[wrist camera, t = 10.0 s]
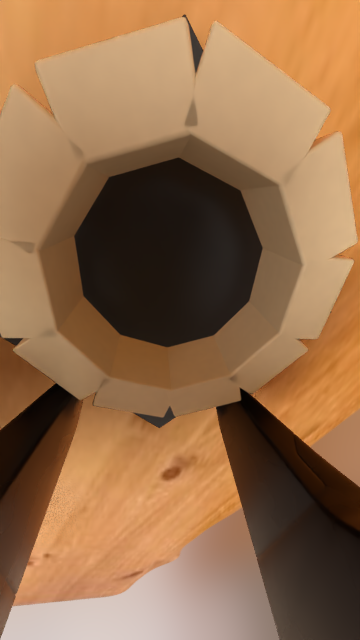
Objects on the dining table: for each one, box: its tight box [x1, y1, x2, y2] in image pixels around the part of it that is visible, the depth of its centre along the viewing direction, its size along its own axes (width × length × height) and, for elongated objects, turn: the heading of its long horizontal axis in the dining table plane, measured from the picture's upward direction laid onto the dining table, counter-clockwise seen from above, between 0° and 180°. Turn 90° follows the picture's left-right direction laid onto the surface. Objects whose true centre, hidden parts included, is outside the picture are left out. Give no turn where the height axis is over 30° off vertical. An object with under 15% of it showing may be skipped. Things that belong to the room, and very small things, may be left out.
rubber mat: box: [0, 15, 331, 428], centre depth 10 cm, size 12×12×1 cm
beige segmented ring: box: [0, 17, 358, 417], centre depth 6 cm, size 9×9×2 cm
